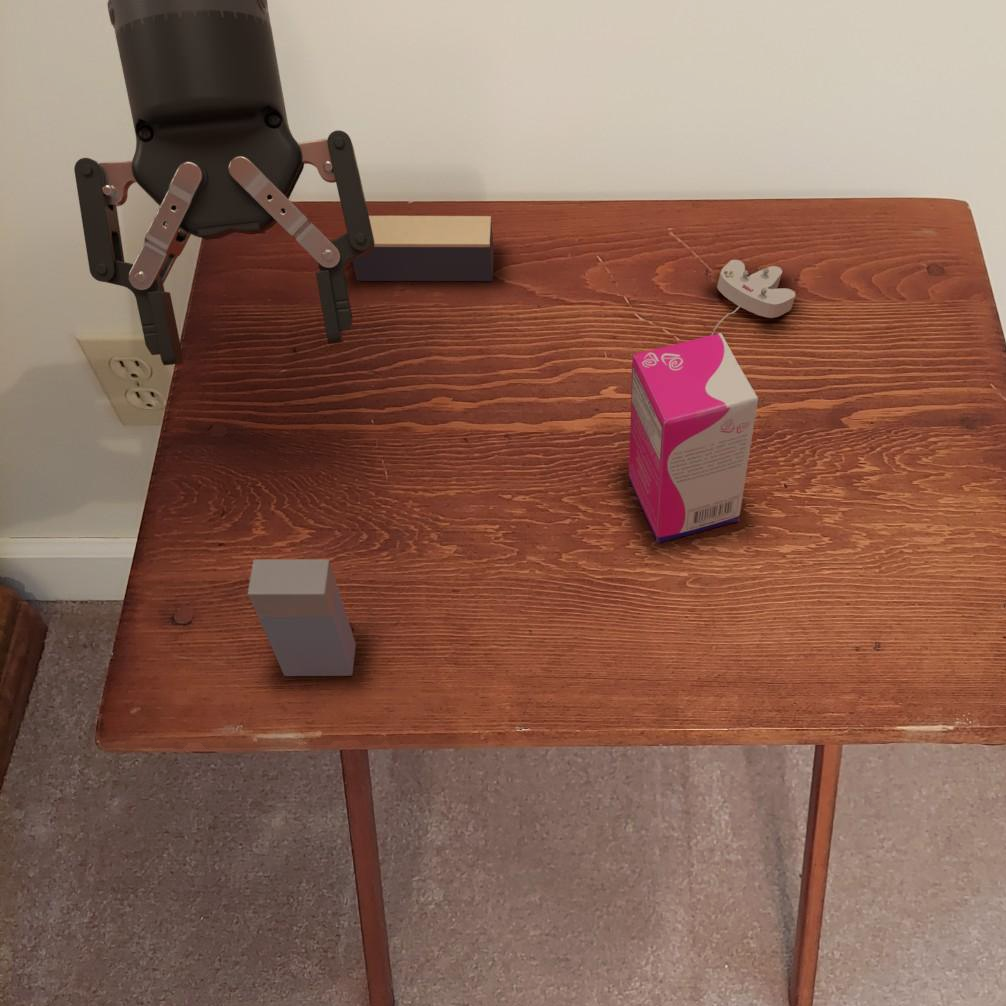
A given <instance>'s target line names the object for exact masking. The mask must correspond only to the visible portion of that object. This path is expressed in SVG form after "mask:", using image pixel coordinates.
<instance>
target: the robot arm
mask: <svg viewBox="0 0 1006 1006" xmlns="http://www.w3.org/2000/svg"><path fill="white" fill-rule="evenodd" d="M106 4H107V12H108V17H109V21H110V24H111V25H112V27H113V29H114V34H115V40H116V44H117V45H116V46H117V50H118V53H119V60H120V63H121V64H120V65H121V68H122V74H123V79H124V84H125V89H126V93H127V98H128V104H129V109H130V113H131V119H132V123H133V129H134V135H135V138H136V139H135V142H136V143H135V151H134V155H133V157H132V160H116V161H115V160H113V161H97V160H95V159H92V158H89V157H81V158H79V159H78V160H77V161H76V162H75V164H74V171H73V172H74V178H75V184H76V190H77V197H78V198H77V199H78V204H79V211H80V217H81V225H82V230H83V236H84V242H85V250H86V256H87V262H88V263H87V264H88V269H89V273H90V275H91V277H92V278H93V279H94V280H96V281H98V282H102V283H107V284H111V285H116V286H119V287H124V288H126V289H128V290H129V291H131V292H132V293H133V295H134V298H135V300H136V305H137V310H138V314H139V320H140V324H141V329H142V333H143V339H144V343H145V347H146V349H147V350H148V352H149V353H150V355H151V356H158V355H159V356H160V360H161V363H162V365H163V366H173V365H181V364H183V363H184V356H183V350H182V345H181V341H180V335H179V331H178V325H177V320H176V316H175V310H174V306H173V301H172V295H171V292H170V291H165V285H164V284H165V282H166V280H167V278H168V276H169V274H170V272H171V270H172V268H173V266H174V264H175V262H176V260H177V259H178V257H180V255H181V254H182V252H183V251H184V250H185V247H186V245H187V244H188V241H189V238H190V237H191V236H194V237H197V238H201V239H203V240H205V241H207V240H215V239H216V240H217V239H222V238H224V237H227V236H229V235H231V234H234V233H237V234H242V235H243V234H244V235H250V236H251V235H259V234H260V235H261V234H266V232H267V231H269V230H270V229H272V228H273V227H274V226H275V225H276V224H277V223H278V224H279V225H280V226H281V227H282V228H283V229H284V230H285V231H286V232H287V233H288V234H289V235H290V237H292V238H293V239H294V240H295V241H296V242H297V243H298V244H299V245H300V246H301V247H302V248H303V249H304V250H305V251H306V252H307V253H308V254H309V255H310V256H311V257H312V258H313V260H315V261H316V262H317V264H318V269H319V270H317V271H315V276H316V282H317V288H318V293H319V300H320V306H321V312H322V317H323V323H324V329H325V334H326V340H327V344H328V345H333V344H341V343H342V344H343V343H344V335H343V332H347V331H351V330H352V327H353V322H354V317H353V311H352V306H351V302H350V301H351V299H350V294H349V289H348V282H347V277H346V276H347V275H346V271H347V267H348V266H349V264H351V262H353V260H355V259H357V258H358V257H360V256H362V255H364V254H368V253H370V252H371V251H372V250H373V248H374V237H373V233H372V228H371V224H370V219H369V216H370V215H369V212H368V211H369V210H368V206H367V201H366V198H365V192H364V187H363V183H362V180H361V174H360V170H359V165H358V161H357V156H356V152H355V151H356V150H355V148H354V145H353V141H352V139H351V137H350V135H349V134H348V133H346V132H345V131H343V130H339V129H338V130H334V131H332V132H330V133H329V135H328V137H325V138H320V139H319V138H318V139H314V140H308V141H303V142H298V141H297V139H295V137H294V136H293V134H292V132H291V129H290V125H289V122H288V115H287V110H286V103H285V99H284V92H283V86H282V81H281V76H280V69H279V64H278V58H277V53H276V52H277V51H276V46H275V41H274V35H273V29H272V24H271V18H270V13H269V4H268V0H107V3H106ZM305 165H311V166H313V167H314V168H316V170H317V172H318V174H319V176H320V177H321V179H322V180H323V181H324V182H325V183H326V182H327V183H330V184H333V183H335V184H336V189H337V193H338V198H339V201H340V206H341V210H342V215H343V220H344V224H345V228H346V233H345V234H342V235H341V236H339V237H337V238H335V239H333V240H330V239H329V238H327V236H325V235H324V234H323V232H322V231H320V229H319V228H318V227H317V226H315V224H314V223H313V222H312V221H311V220H309V218H308V217H306V215H305V214H304V213H303V212H302V211H301V210H300V209H299V208H298V207H297V206H296V205H295V204H293V202H292V201H291V200H290V197H291V195H292V193H293V191H294V189H295V187H296V185H297V183H298V180H299V179H300V176H301V175H302V173H303V171H304V167H305ZM136 183H137V185H138V186H139V187H140V188H141V189H142V190H143V191H144V192H145V193H146V194H147V195H148V196H149V197H150V198H151V199H152V200H153V201H154V202H155V203H156V204H157V205H158V206H159V207H158V209H157V212H156V213H155V215H154V217H153V219H152V221H151V223H150V224H149V227H148V229H147V231H146V233H145V236H144V242H143V244H142V246H141V248H140V250H139V251H138V254H137V256H136V258H135V260H134V262H133V263H130V262H125V256H124V249H123V248H124V247H123V241H122V234H121V228H120V221H119V213H118V207H121V206H123V205H124V204H125V203H126V202H127V201H128V191H129V188H130V187H131V186H132V185H133V184H136Z"/></svg>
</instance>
